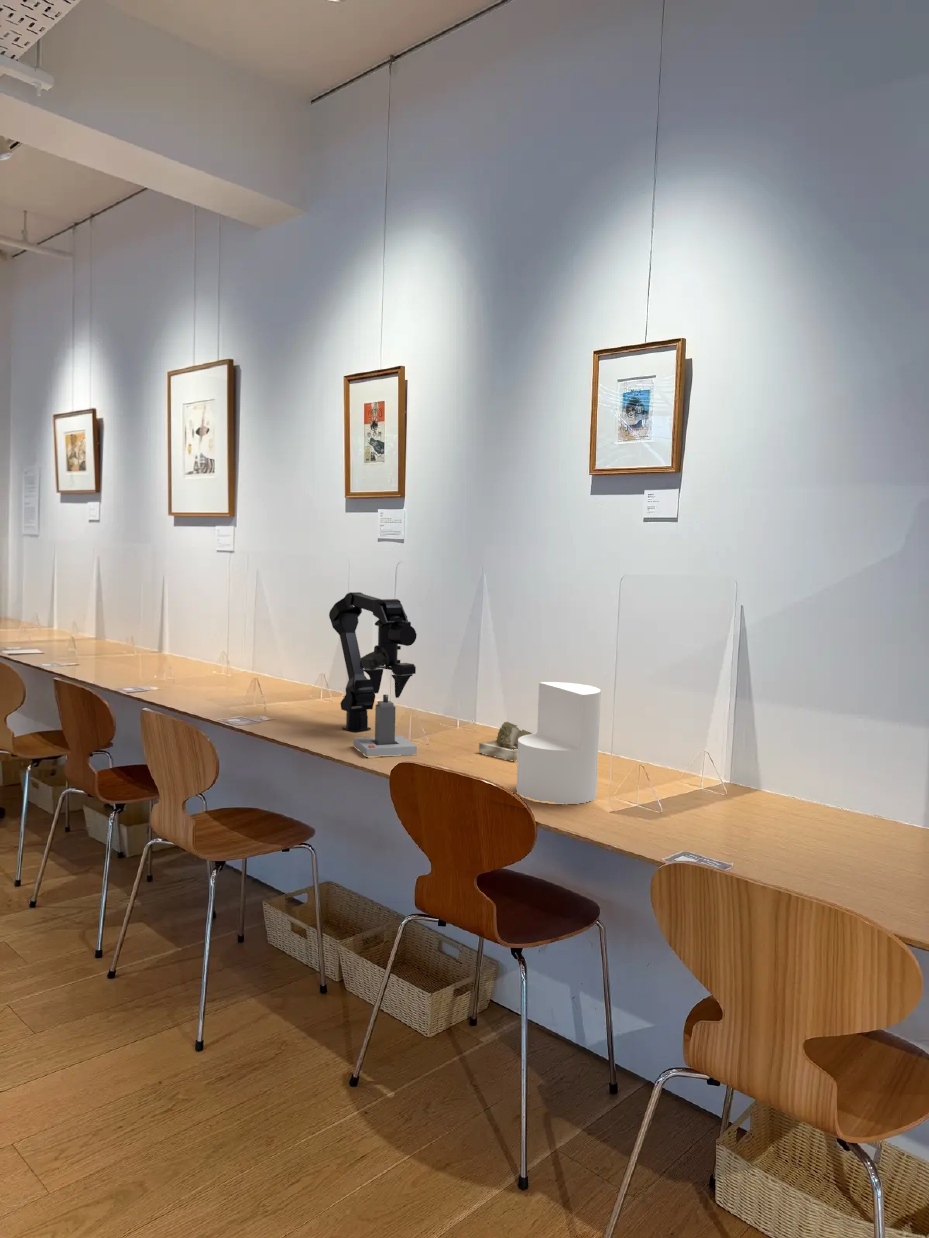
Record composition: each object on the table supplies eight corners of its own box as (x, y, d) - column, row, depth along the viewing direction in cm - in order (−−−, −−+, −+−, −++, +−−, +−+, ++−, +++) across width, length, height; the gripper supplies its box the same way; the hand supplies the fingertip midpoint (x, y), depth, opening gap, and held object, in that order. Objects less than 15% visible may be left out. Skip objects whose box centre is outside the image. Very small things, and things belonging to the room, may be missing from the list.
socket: (353, 746, 255) (353, 736, 255) (400, 744, 260) (401, 733, 260) (366, 758, 242) (367, 747, 242) (416, 755, 247) (416, 744, 247)
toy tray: (478, 753, 251) (479, 743, 251) (527, 742, 266) (528, 733, 266) (514, 762, 242) (514, 751, 242) (563, 750, 257) (563, 740, 257)
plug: (374, 747, 252) (375, 693, 251) (390, 746, 254) (391, 693, 253) (378, 750, 248) (379, 696, 247) (394, 749, 250) (395, 696, 248)
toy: (553, 740, 252) (509, 723, 261) (542, 735, 247) (498, 718, 256) (543, 765, 252) (500, 747, 260) (532, 760, 246) (488, 742, 255)
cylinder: (572, 780, 225) (576, 681, 223) (611, 801, 208) (616, 693, 206) (503, 786, 218) (506, 683, 216) (537, 808, 201) (541, 696, 199)
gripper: (345, 640, 264) (344, 693, 265) (388, 647, 251) (386, 702, 252) (375, 638, 272) (374, 690, 273) (417, 644, 259) (416, 698, 260)
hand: (386, 695), depth 265 cm, fingers open, 9 cm apart
